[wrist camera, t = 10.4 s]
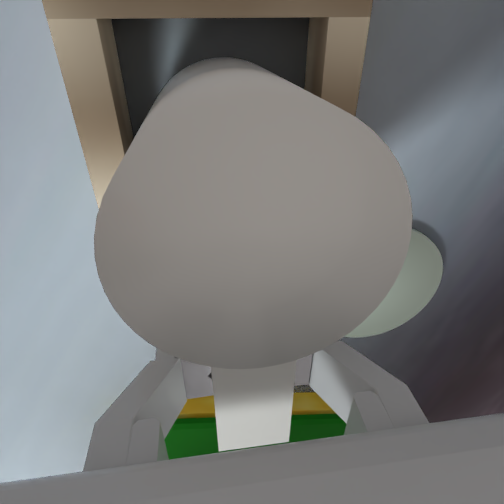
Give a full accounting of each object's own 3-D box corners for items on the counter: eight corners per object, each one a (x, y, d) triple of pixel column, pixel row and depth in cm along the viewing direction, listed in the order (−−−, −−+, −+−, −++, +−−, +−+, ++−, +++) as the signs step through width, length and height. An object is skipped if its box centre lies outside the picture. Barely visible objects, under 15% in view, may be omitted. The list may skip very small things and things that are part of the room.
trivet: (418, 325, 21) (422, 330, 20) (301, 338, 20) (303, 343, 20) (456, 220, 17) (461, 224, 17) (313, 231, 16) (315, 235, 16)
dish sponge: (128, 388, 21) (121, 428, 19) (343, 385, 24) (356, 419, 22) (130, 452, 25) (124, 491, 23) (315, 443, 28) (325, 477, 26)
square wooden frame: (321, 217, 16) (336, 240, 14) (121, 231, 15) (112, 258, 13) (350, -31, 11) (378, -39, 9) (57, -33, 10) (29, -43, 8)
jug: (135, 57, 11) (47, 96, 4) (305, 56, 11) (451, 87, 5) (172, 300, 15) (158, 487, 9) (289, 290, 16) (351, 458, 10)
